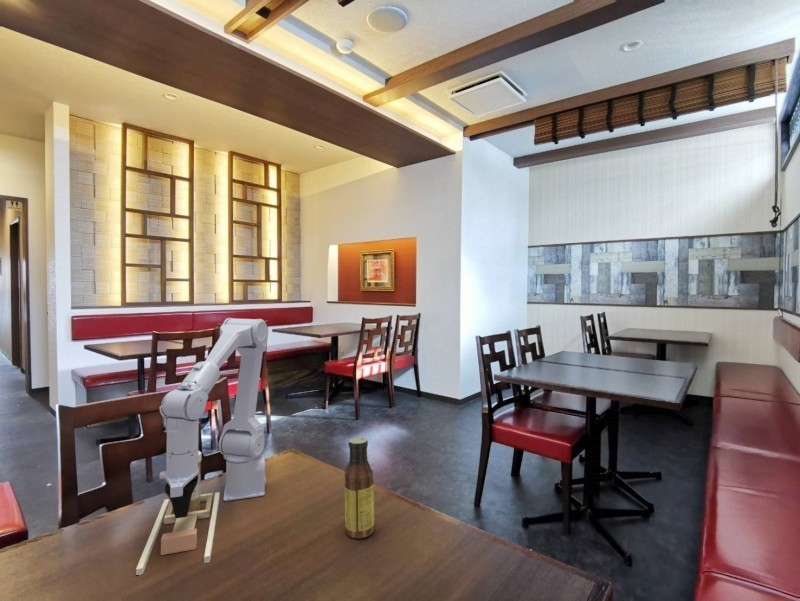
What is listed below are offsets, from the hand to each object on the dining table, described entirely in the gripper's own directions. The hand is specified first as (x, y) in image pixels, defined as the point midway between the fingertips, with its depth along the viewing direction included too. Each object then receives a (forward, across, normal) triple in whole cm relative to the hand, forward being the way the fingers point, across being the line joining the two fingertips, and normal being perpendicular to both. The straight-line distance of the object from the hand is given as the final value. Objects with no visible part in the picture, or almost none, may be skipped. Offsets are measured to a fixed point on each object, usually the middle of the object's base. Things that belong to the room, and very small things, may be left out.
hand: (181, 516), depth 84 cm
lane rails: (+5, -4, 0) cm, 7 cm away
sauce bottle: (+5, +8, +35) cm, 36 cm away
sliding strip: (+5, -6, 0) cm, 8 cm away
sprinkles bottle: (+5, -12, 0) cm, 13 cm away
